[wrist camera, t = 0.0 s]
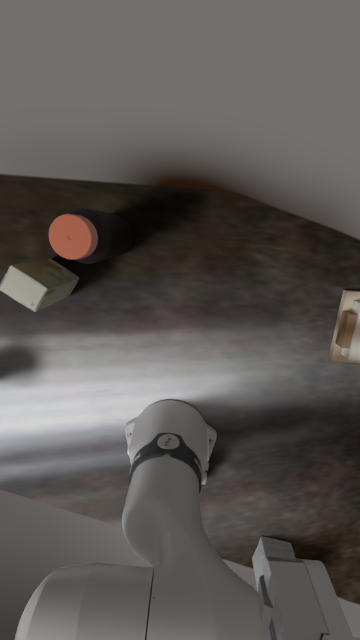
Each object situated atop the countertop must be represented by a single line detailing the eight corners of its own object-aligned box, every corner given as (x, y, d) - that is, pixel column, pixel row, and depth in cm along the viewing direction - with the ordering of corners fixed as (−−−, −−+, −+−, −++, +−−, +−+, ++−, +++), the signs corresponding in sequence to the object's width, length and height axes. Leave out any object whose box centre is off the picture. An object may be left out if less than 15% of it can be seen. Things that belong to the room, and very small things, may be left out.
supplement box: (260, 534, 70) (274, 598, 58) (291, 541, 70) (312, 606, 58) (250, 558, 72) (262, 624, 60) (281, 564, 72) (298, 632, 60)
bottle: (99, 209, 52) (43, 197, 33) (138, 220, 52) (105, 213, 33) (92, 249, 54) (36, 259, 34) (129, 259, 54) (94, 275, 35)
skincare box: (80, 277, 55) (50, 289, 43) (69, 296, 56) (36, 314, 44) (49, 257, 54) (9, 264, 43) (38, 277, 55) (-4, 289, 44)
